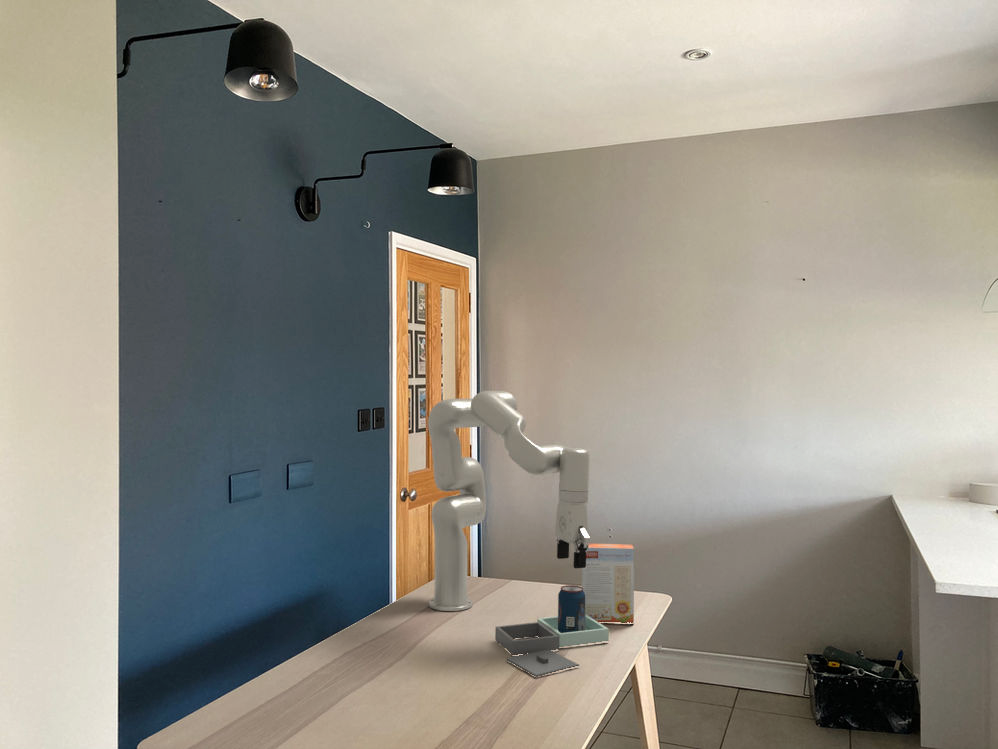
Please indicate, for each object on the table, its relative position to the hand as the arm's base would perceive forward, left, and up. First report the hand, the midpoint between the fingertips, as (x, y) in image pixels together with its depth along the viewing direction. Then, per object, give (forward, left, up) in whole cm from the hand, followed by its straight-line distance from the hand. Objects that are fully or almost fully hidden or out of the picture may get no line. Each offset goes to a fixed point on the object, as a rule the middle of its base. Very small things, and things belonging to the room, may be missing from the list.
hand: (571, 562), depth 202 cm
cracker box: (-8, +15, -19) cm, 26 cm away
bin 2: (+1, 0, -19) cm, 19 cm away
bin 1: (+3, -13, -19) cm, 23 cm away
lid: (+16, -15, -19) cm, 29 cm away
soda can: (0, 0, -19) cm, 19 cm away
